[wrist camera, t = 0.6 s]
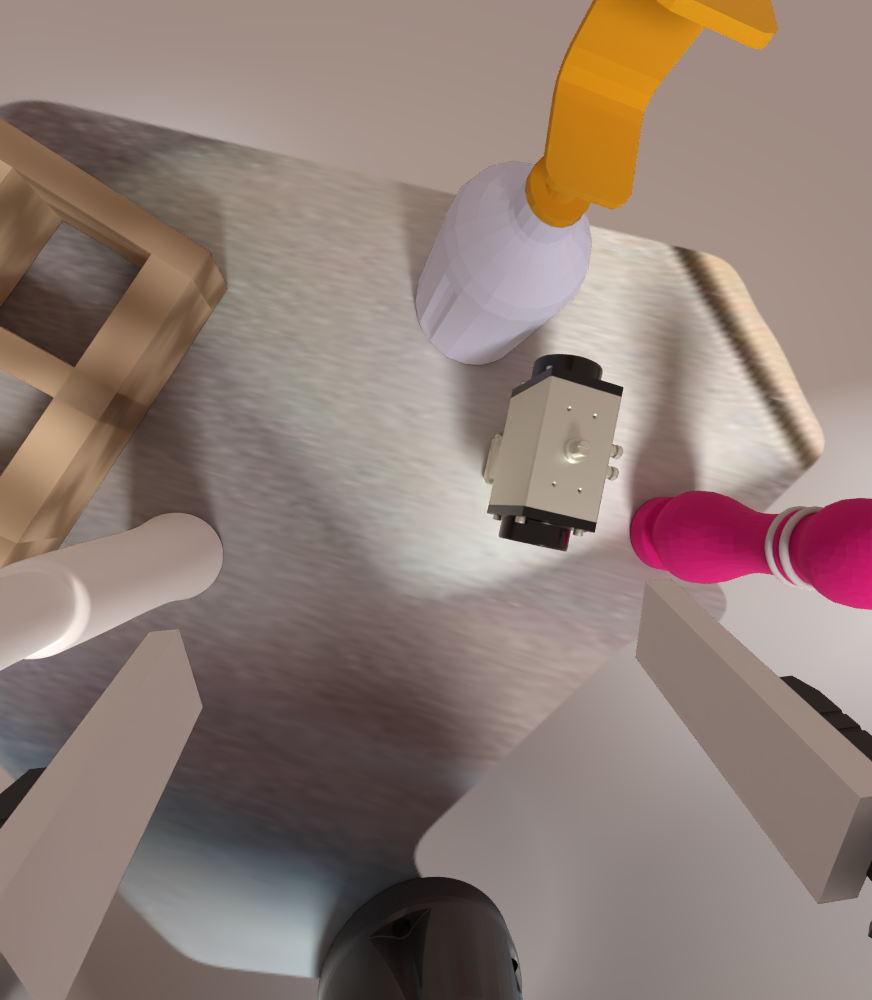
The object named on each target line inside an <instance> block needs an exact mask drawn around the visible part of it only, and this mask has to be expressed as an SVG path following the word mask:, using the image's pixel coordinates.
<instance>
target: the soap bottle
mask: <svg viewBox="0 0 872 1000" xmlns="http://www.w3.org/2000/svg"><path fill="white" fill-rule="evenodd" d="M704 27H707V28H709V29H711V30H714V31H716V32H718V33H720V34H722V35H725V36H727V37H729V38H731V39H733V40H736V41H738V42H740V43H742V44H744V45H747V46H749V47H751V48H754V49H764V47H765V46H766V45H767V43H768V42H769V41H770V39H771V38H772V37H773V35H774V34H775V33H776V31H777V30H778V27H777V23H776V19H775V15H774V12H773V7H772V3H771V0H593V2H592V4H591V6H590V8H589V9H588V11H587V13H586V15H585V17H584V19H583V21H582V23H581V25H580V26H579V29H578V30H577V32H576V34H575V36H574V38H573V40H572V42H571V43H570V46H569V48H568V50H567V53H566V55H565V57H564V59H563V62H562V64H561V67H560V70H559V73H558V76H557V80H556V84H555V88H554V93H553V99H552V106H551V112H550V119H549V126H548V132H547V139H546V145H545V152H544V156H543V157H542V158H541V159H540V160H539V161H538V162H537V163H536V164H530V163H523V162H516V161H510V162H506V163H502V164H498V165H493V166H490V167H488V168H487V169H485V170H484V171H482V172H481V173H479V174H478V175H477V176H475V177H474V178H473V179H471V180H470V181H469V182H467V183H466V184H465V185H463V186H462V187H461V188H460V190H459V192H458V194H457V195H456V197H455V199H454V200H453V202H452V204H451V206H450V207H449V209H448V211H447V214H446V216H445V219H444V221H443V224H442V226H441V228H440V231H439V233H438V236H437V238H436V241H435V243H434V246H433V248H432V250H431V253H430V255H429V258H428V260H427V263H426V265H425V268H424V270H423V272H422V275H421V277H420V280H419V282H418V289H417V295H416V301H415V303H416V309H417V314H418V319H419V324H420V326H421V327H422V329H423V331H424V333H425V334H426V336H427V338H428V340H429V342H430V343H432V344H433V345H434V346H435V347H436V348H437V349H438V350H439V351H440V352H441V353H443V354H444V355H445V356H447V357H449V358H451V359H454V360H456V361H458V362H461V363H463V364H477V365H484V364H487V363H490V362H493V361H496V360H499V359H501V358H503V357H504V356H505V355H506V354H508V353H509V352H510V351H511V350H512V349H514V348H515V347H516V346H517V345H519V344H520V343H521V342H522V341H523V340H525V339H526V338H527V337H528V336H529V335H531V334H532V333H533V332H534V331H536V330H537V329H538V328H539V327H540V326H542V325H543V324H544V323H545V322H547V321H548V320H549V319H550V318H551V317H553V316H554V315H555V314H556V313H557V312H559V311H560V310H561V309H562V308H563V307H565V306H566V305H567V304H568V303H569V302H570V301H572V300H573V299H574V297H575V295H576V293H577V291H578V290H579V288H580V286H581V284H582V282H583V280H584V278H585V276H586V273H587V270H588V267H589V261H590V254H591V247H592V240H591V234H590V228H589V222H588V218H587V216H586V214H585V212H586V211H587V209H588V207H589V204H590V202H591V203H594V204H597V205H600V206H603V207H606V208H609V209H616V208H619V207H621V206H622V205H623V204H624V203H625V202H626V201H627V200H628V198H629V197H630V196H631V194H632V188H633V181H634V174H635V167H636V159H637V153H638V146H639V139H640V132H641V125H642V120H643V116H644V111H645V109H646V107H647V105H648V103H649V101H650V99H651V97H652V95H653V94H654V92H655V91H656V89H657V88H658V86H659V85H660V83H661V81H662V80H663V79H664V78H665V77H666V75H667V74H668V73H669V71H670V70H671V69H672V68H673V66H674V65H675V64H676V63H677V61H678V60H679V59H680V58H681V56H682V55H683V54H684V53H685V51H686V50H687V49H688V48H689V46H690V45H691V44H692V43H693V41H694V40H695V39H696V38H697V36H698V35H699V34H700V32H701V31H702V30H703V29H704Z"/></svg>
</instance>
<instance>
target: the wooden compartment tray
mask: <svg viewBox="0 0 872 1000" xmlns="http://www.w3.org/2000/svg"><path fill="white" fill-rule="evenodd" d="M62 220H64V221H65V222H67V223H68V224H70V225H72V226H73V227H75V228H77V229H78V230H80V231H82V232H83V233H85V234H86V235H88V236H90V237H91V238H93V239H95V240H96V241H98V242H100V243H101V244H103V245H104V246H106V247H108V248H109V249H111V250H113V251H114V252H116V253H118V254H119V255H121V256H122V257H124V258H126V259H127V260H129V261H131V262H132V263H134V264H136V265H137V266H139V267H140V268H142V269H141V270H140V272H139V273H138V275H137V276H136V278H135V279H134V281H133V282H132V283H131V285H130V286H129V288H128V289H127V291H126V292H125V294H124V295H123V297H122V298H121V300H120V301H119V303H118V304H117V306H116V307H115V309H114V310H113V311H112V313H111V314H110V316H109V317H108V319H107V320H106V322H105V323H104V325H103V326H102V328H101V329H100V331H99V332H98V334H97V335H96V337H95V338H94V339H93V341H92V342H91V344H90V345H89V347H88V348H87V350H86V351H85V353H84V354H83V356H82V357H81V359H80V360H79V362H78V363H77V365H76V366H73V365H71V364H69V363H67V362H66V361H64V360H62V359H60V358H58V357H56V356H55V355H53V354H51V353H49V352H47V351H46V350H44V349H42V348H40V347H38V346H37V345H35V344H33V343H31V342H29V341H28V340H26V339H24V338H22V337H20V336H19V335H17V334H15V333H13V332H11V331H9V330H8V329H6V328H4V327H2V326H0V369H2V370H4V371H6V372H7V373H9V374H11V375H13V376H15V377H17V378H19V379H20V380H22V381H24V382H26V383H28V384H30V385H32V386H34V387H35V388H37V389H39V390H41V391H43V392H45V393H47V394H48V395H50V396H52V397H54V398H53V400H52V401H51V403H50V404H49V406H48V407H47V409H46V410H45V412H44V413H43V415H42V416H41V418H40V419H39V421H38V422H37V423H36V425H35V426H34V428H33V429H32V431H31V432H30V434H29V435H28V437H27V438H26V440H25V441H24V443H23V444H22V446H21V447H20V449H19V450H18V451H17V453H16V454H15V456H14V457H13V459H12V460H11V462H10V463H9V465H8V466H7V468H6V469H5V471H4V472H3V474H2V475H1V477H0V569H2V568H4V567H6V566H8V565H10V564H12V563H15V562H19V561H22V560H25V559H28V558H31V557H35V556H38V555H41V554H45V553H48V552H52V551H55V550H58V548H59V547H60V545H61V544H62V542H63V541H64V539H65V538H66V536H67V535H68V533H69V531H70V530H71V528H72V527H73V525H74V524H75V522H76V521H77V519H78V518H79V516H80V515H81V513H82V511H83V510H84V508H85V507H86V505H87V504H88V502H89V501H90V499H91V498H92V496H93V495H94V493H95V491H96V490H97V488H98V487H99V485H100V484H101V482H102V481H103V479H104V478H105V476H106V475H107V473H108V472H109V470H110V468H111V467H112V465H113V464H114V462H115V461H116V459H117V458H118V456H119V455H120V453H121V452H122V450H123V448H124V447H125V445H126V444H127V442H128V441H129V439H130V438H131V436H132V435H133V433H134V432H135V430H136V428H137V427H138V425H139V424H140V422H141V421H142V419H143V418H144V416H145V415H146V413H147V412H148V410H149V408H150V407H151V405H152V404H153V402H154V401H155V399H156V398H157V396H158V395H159V393H160V392H161V390H162V388H163V387H164V385H165V384H166V382H167V381H168V379H169V378H170V376H171V375H172V373H173V372H174V370H175V368H176V367H177V365H178V364H179V362H180V361H181V359H182V358H183V356H184V355H185V353H186V352H187V350H188V348H189V347H190V345H191V344H192V342H193V341H194V339H195V338H196V336H197V335H198V333H199V332H200V330H201V328H202V327H203V325H204V324H205V322H206V321H207V319H208V318H209V316H210V315H211V313H212V312H213V310H214V308H215V307H216V305H217V304H218V302H219V301H220V299H221V298H222V296H223V295H224V293H225V292H226V290H227V286H226V284H225V282H224V280H223V277H222V275H221V273H220V271H219V269H218V267H217V265H216V263H215V261H214V259H213V257H212V255H211V253H210V251H208V250H207V249H205V248H204V247H202V246H200V245H199V244H197V243H196V242H194V241H193V240H191V239H189V238H188V237H186V236H185V235H183V234H182V233H180V232H178V231H177V230H175V229H174V228H172V227H171V226H169V225H167V224H166V223H164V222H163V221H161V220H160V219H158V218H156V217H155V216H153V215H152V214H150V213H149V212H147V211H145V210H144V209H142V208H141V207H139V206H138V205H136V204H135V203H133V202H131V201H130V200H128V199H127V198H125V197H124V196H122V195H120V194H119V193H117V192H116V191H114V190H113V189H111V188H109V187H108V186H106V185H105V184H103V183H102V182H100V181H98V180H97V179H95V178H94V177H92V176H91V175H89V174H87V173H86V172H84V171H83V170H81V169H80V168H78V167H76V166H75V165H73V164H72V163H70V162H69V161H67V160H65V159H64V158H62V157H61V156H59V155H58V154H56V153H54V152H53V151H51V150H50V149H48V148H47V147H45V146H43V145H42V144H40V143H39V142H37V141H36V140H34V139H32V138H31V137H29V136H28V135H26V134H25V133H23V132H21V131H20V130H18V129H17V128H15V127H14V126H12V125H10V124H9V123H7V122H6V121H4V120H3V119H1V118H0V307H1V306H2V305H3V303H4V302H5V300H6V299H7V298H8V296H9V295H10V293H11V292H12V291H13V289H14V288H15V286H16V285H17V284H18V282H19V281H20V279H21V278H22V277H23V275H24V274H25V272H26V271H27V270H28V268H29V267H30V265H31V264H32V262H33V261H34V260H35V258H36V257H37V255H38V254H39V253H40V251H41V250H42V248H43V247H44V246H45V244H46V243H47V241H48V240H49V239H50V237H51V236H52V234H53V233H54V232H55V230H56V229H57V227H58V226H59V225H60V223H61V222H62Z"/></svg>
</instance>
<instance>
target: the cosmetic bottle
mask: <svg viewBox="0 0 872 1000" xmlns="http://www.w3.org/2000/svg"><path fill="white" fill-rule="evenodd" d="M222 562H223V548H222V544H221V541H220V539H219V537H218V535H217V533H216V532H215V531H214V529H213V528H212V527H211V526H210V525H209V524H207V523H206V522H205V521H203V520H202V519H200V518H198V517H196V516H193V515H190V514H185V513H167V514H162V515H159V516H156V517H154V518H152V519H150V520H148V521H147V522H145V523H144V524H142V525H141V526H139V527H136V528H134V529H131V530H128V531H125V532H122V533H119V534H115V535H111V536H108V537H104V538H100V539H96V540H93V541H89V542H85V543H81V544H77V545H73V546H70V547H66V548H62V549H59V550H55V551H52V552H48V553H45V554H41V555H38V556H35V557H31V558H28V559H25V560H22V561H19V562H15V563H12V564H10V565H8V566H6V567H4V568H2V569H0V671H1V670H2V669H4V668H6V667H8V666H10V665H12V664H14V663H16V662H18V661H20V660H22V659H39V658H45V657H49V656H52V655H55V654H58V653H60V652H62V651H65V650H67V649H69V648H71V647H73V646H76V645H78V644H80V643H82V642H85V641H87V640H89V639H91V638H93V637H95V636H97V635H100V634H102V633H104V632H106V631H108V630H110V629H112V628H114V627H116V626H118V625H120V624H122V623H124V622H126V621H128V620H130V619H133V618H135V617H137V616H139V615H141V614H143V613H145V612H147V611H149V610H151V609H154V608H156V607H158V606H161V605H163V604H166V603H169V602H172V601H179V600H185V599H189V598H192V597H194V596H196V595H198V594H200V593H202V592H203V591H205V590H206V589H207V588H208V587H209V586H210V585H211V584H212V583H213V582H214V581H215V579H216V578H217V576H218V574H219V572H220V570H221V567H222Z"/></svg>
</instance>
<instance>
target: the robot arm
mask: <svg viewBox="0 0 872 1000" xmlns="http://www.w3.org/2000/svg"><path fill="white" fill-rule="evenodd" d="M636 659H637V660H638V662H639V663H640V664H641V666H642V667H643V668H644V670H645V671H646V672H647V674H648V675H649V677H650V678H651V679H652V681H653V682H654V683H655V685H656V686H657V687H658V689H659V690H660V691H661V693H662V694H663V695H664V697H665V698H666V700H667V701H668V702H669V704H670V705H671V706H672V708H673V709H674V710H675V712H676V713H677V714H678V716H679V717H680V718H681V720H682V721H683V722H684V724H685V725H686V727H687V728H688V729H689V731H690V732H691V733H692V735H693V736H694V737H695V739H696V740H697V741H698V743H699V744H700V745H701V747H702V748H703V749H704V751H705V752H706V754H707V755H708V756H709V757H710V759H711V760H712V762H713V763H714V764H715V766H716V767H717V768H718V770H719V771H720V772H721V774H722V775H723V777H724V778H725V779H726V781H727V782H728V783H729V784H730V786H731V787H732V789H733V790H734V791H735V793H736V794H737V795H738V797H739V798H740V799H741V801H742V802H743V803H744V805H745V806H746V808H747V809H748V810H749V812H750V813H751V814H752V816H753V817H754V818H755V820H756V821H757V822H758V824H759V825H760V826H761V828H762V829H763V830H764V832H765V833H766V835H767V836H768V837H769V839H770V840H771V841H772V843H773V844H774V845H775V847H776V848H777V849H778V851H779V852H780V853H781V855H782V856H783V858H784V859H785V860H786V862H787V863H788V864H789V866H790V867H791V868H792V869H793V871H794V872H795V874H796V875H797V876H798V878H799V879H800V880H801V882H802V883H803V884H804V886H805V887H806V888H807V890H808V891H809V893H810V894H811V895H812V897H813V898H814V899H815V901H816V902H817V903H818V904H822V903H828V902H834V901H840V900H846V899H853V898H857V897H858V895H859V892H860V890H861V888H862V886H863V884H864V881H865V879H866V877H867V876H868V877H869V879H870V880H871V881H872V736H871V735H870V734H869V733H868V732H866V731H865V730H861V728H860V725H858V724H857V723H856V722H855V721H854V720H853V719H851V718H850V717H849V716H848V715H847V714H843V713H842V710H841V709H840V708H839V707H837V706H836V705H835V704H834V703H833V702H832V701H830V700H829V699H828V698H827V697H826V696H825V695H823V694H822V693H821V692H820V691H818V690H817V689H815V688H813V687H811V686H809V685H807V684H806V683H804V682H802V681H801V680H799V679H797V678H795V677H793V676H786V677H778V676H777V675H776V674H775V673H774V672H773V671H772V670H770V669H769V668H768V667H767V666H766V665H765V664H764V663H763V662H761V661H760V660H759V659H758V658H757V657H756V656H755V655H754V654H753V653H752V652H750V651H749V650H748V649H747V648H746V647H745V646H744V645H743V644H742V643H741V642H740V641H738V640H737V639H736V638H735V637H734V636H733V635H732V634H731V633H730V632H729V631H727V630H726V629H725V628H724V627H723V626H722V625H721V624H720V623H719V622H718V621H716V620H715V619H714V618H713V617H712V616H711V615H710V614H709V613H708V612H707V611H705V610H704V609H703V608H702V607H701V606H700V605H699V604H698V603H697V602H696V601H694V600H693V599H692V598H691V597H690V596H689V595H688V594H687V593H686V592H685V591H683V590H682V589H681V588H680V587H679V586H678V585H677V584H676V583H675V582H673V581H672V580H671V579H663V580H653V581H645V588H644V595H643V603H642V611H641V619H640V627H639V634H638V642H637V650H636ZM202 708H203V707H202V703H201V700H200V697H199V693H198V690H197V687H196V684H195V680H194V677H193V674H192V670H191V667H190V664H189V661H188V657H187V654H186V651H185V647H184V644H183V641H182V638H181V634H180V631H179V629H173V630H163V631H153V632H149V633H148V634H147V636H146V637H145V638H144V640H143V641H142V642H141V644H140V645H139V646H138V648H137V649H136V650H135V652H134V653H133V654H132V656H131V657H130V658H129V660H128V661H127V662H126V664H125V665H124V666H123V668H122V669H121V670H120V671H119V673H118V674H117V675H116V677H115V678H114V679H113V681H112V682H111V683H110V685H109V686H108V687H107V689H106V690H105V691H104V693H103V694H102V695H101V697H100V698H99V699H98V701H97V702H96V703H95V705H94V706H93V707H92V709H91V710H90V711H89V713H88V714H87V715H86V716H85V718H84V719H83V720H82V722H81V723H80V724H79V726H78V727H77V728H76V730H75V731H74V732H73V734H72V735H71V736H70V738H69V739H68V740H67V742H66V743H65V744H64V746H63V747H62V748H61V750H60V751H59V752H58V754H57V755H56V756H55V758H54V759H53V760H52V761H51V763H50V764H49V765H48V767H45V768H37V769H30V770H28V771H27V772H26V773H25V774H24V775H22V776H21V777H20V778H19V779H18V780H16V781H15V782H14V783H13V784H12V785H11V786H10V787H8V788H7V789H6V790H4V791H3V792H2V793H1V794H0V1000H65V998H66V997H67V994H68V992H69V990H70V988H71V986H72V984H73V982H74V979H75V977H76V975H77V973H78V971H79V969H80V967H81V964H82V962H83V961H84V958H85V956H86V954H87V952H88V950H89V948H90V945H91V944H92V941H93V939H94V937H95V934H96V933H97V931H98V929H99V926H100V924H101V922H102V920H103V918H104V916H105V914H106V911H107V910H108V907H109V905H110V903H111V901H112V899H113V897H114V895H115V893H116V890H117V888H118V886H119V884H120V882H121V880H122V878H123V876H124V873H125V871H126V869H127V867H128V865H129V863H130V861H131V859H132V856H133V854H134V852H135V850H136V848H137V846H138V844H139V842H140V839H141V837H142V835H143V833H144V831H145V829H146V827H147V825H148V822H149V820H150V818H151V816H152V814H153V812H154V810H155V808H156V805H157V803H158V801H159V799H160V797H161V795H162V793H163V791H164V789H165V786H166V784H167V782H168V780H169V778H170V776H171V774H172V772H173V769H174V767H175V765H176V763H177V761H178V759H179V757H180V755H181V752H182V750H183V748H184V746H185V744H186V742H187V740H188V738H189V735H190V733H191V731H192V729H193V727H194V725H195V723H196V721H197V718H198V716H199V714H200V712H201V710H202ZM868 936H869V937H871V938H872V921H871V923H870V927H869V934H868ZM318 1000H523V997H522V981H521V972H520V964H519V959H518V955H517V952H516V948H515V946H514V943H513V940H512V938H511V936H510V933H509V930H508V928H507V926H506V923H505V921H504V919H503V916H502V915H501V913H500V911H499V910H498V908H497V907H496V905H495V904H494V903H493V902H492V900H491V899H490V898H489V897H488V896H487V895H485V894H484V893H483V892H482V891H480V890H479V889H477V888H476V887H474V886H472V885H470V884H468V883H466V882H463V881H460V880H456V879H452V878H446V877H425V878H419V879H414V880H410V881H407V882H404V883H401V884H398V885H396V886H394V887H392V888H389V889H388V890H386V891H384V892H382V893H381V894H379V895H377V896H376V897H374V898H373V899H372V900H370V901H369V902H368V903H366V904H365V905H364V906H363V907H362V908H361V909H360V910H358V911H357V912H356V913H355V914H354V915H353V917H352V918H351V919H350V920H349V921H348V922H347V923H346V925H345V926H344V927H343V929H342V930H341V931H340V933H339V934H338V936H337V937H336V939H335V941H334V943H333V944H332V946H331V948H330V950H329V952H328V955H327V957H326V960H325V962H324V965H323V968H322V972H321V976H320V981H319V988H318Z"/></svg>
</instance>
